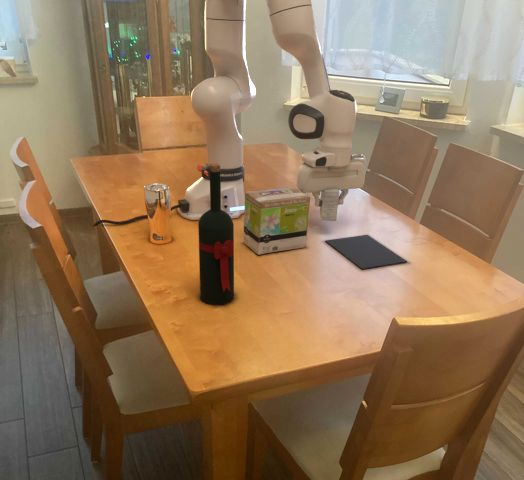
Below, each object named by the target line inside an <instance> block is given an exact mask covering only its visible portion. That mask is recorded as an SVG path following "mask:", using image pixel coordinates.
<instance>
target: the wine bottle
mask: <svg viewBox="0 0 524 480" xmlns="http://www.w3.org/2000/svg"><path fill="white" fill-rule="evenodd" d="M210 169H211V170H210V210H208V211H207V212H205V213H204V214H203V215H202V216H201V217H200V219H199V220H198V222H197V226H198V228H197V229H198V231H197V232H198V262H199V264H198V265H199V297H200V301H202V302H203V303H205V304H206V305H211V306H224V305H227V304H230V303H232V302H233V300H234V299H235V255H234V254H235V236H234V235H235V233H234V232H235V229H234V228H235V225H234V221H233V218H231V217H230V216H229V214H228V213H226V212H225V211H223V210H221V174H220V165H219V164H210Z"/></svg>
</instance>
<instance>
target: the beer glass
mask: <svg viewBox="0 0 524 480" xmlns="http://www.w3.org/2000/svg"><path fill="white" fill-rule="evenodd" d="M143 188H144V189H143V190H144V193H143V194H144V195H143V197H144V207H145V208H144V209H145V212H146V215H147V216H148V218H147V220H148V224H149V229H150V231H149V242H151V243H152V244H155V245H156V244H157V245H163V244H168V243H170V242H171V241H172V239H173V238H172V234H171V229H170V224H171V223H170V222H171V221H170V220H171V212H172V211H171V207H172V200H171V191H170V186H169V185H168V184H166V183H160V182H155V183H149V184H145V185H144V187H143Z"/></svg>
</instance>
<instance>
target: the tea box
mask: <svg viewBox="0 0 524 480" xmlns="http://www.w3.org/2000/svg"><path fill="white" fill-rule="evenodd" d="M244 195H245V207H244V213H243V234H242V235H243V239H242V240H243V241H242V242H243V244H245V245H246V246H247V247H248V248H249V249H251V251H253V252H254V253H255V254H257V255H258V256H260V255H265V254H270V253H276V252H282V251H289V250H296V249H304V248H306V246H307V245H306V243H307V234H308V225H309V213H310V203H311V196H309V195H307V193H303V192H301V191H300V190H299V189H298V188H296V187H294V186H287V187H278V188H269V189H261V190H252V191H244Z"/></svg>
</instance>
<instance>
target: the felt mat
mask: <svg viewBox="0 0 524 480" xmlns="http://www.w3.org/2000/svg"><path fill="white" fill-rule="evenodd" d="M325 243H326V244H327V245H329V246H330V247H331V248H332V249H334V250H335V251H336V252H338V253H339V254H341V256H343V257H344V258H345V259H347V260H348V261H350V262H351V263H352V264H354V265H355V266H356V267H357V268H359V269H360V270H361V271H365V270H369V269H377V268H382V267H383V268H384V267H388V266H396V265H401V264H407V263H408V260H406V259H404V258H403V257H401V256H400V255H399V254H397V253H395V252H394V251H392V250H391V249H389V248H388V247H387V246H385V245H384V244H382V243H380V242H379V241H377V240H376V239H375V238H373V237H372V236H369V234H363V235H357V236H356V235H354V236H349V237H341V238H335V239H334V238H333V239H327V240H325Z"/></svg>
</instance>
